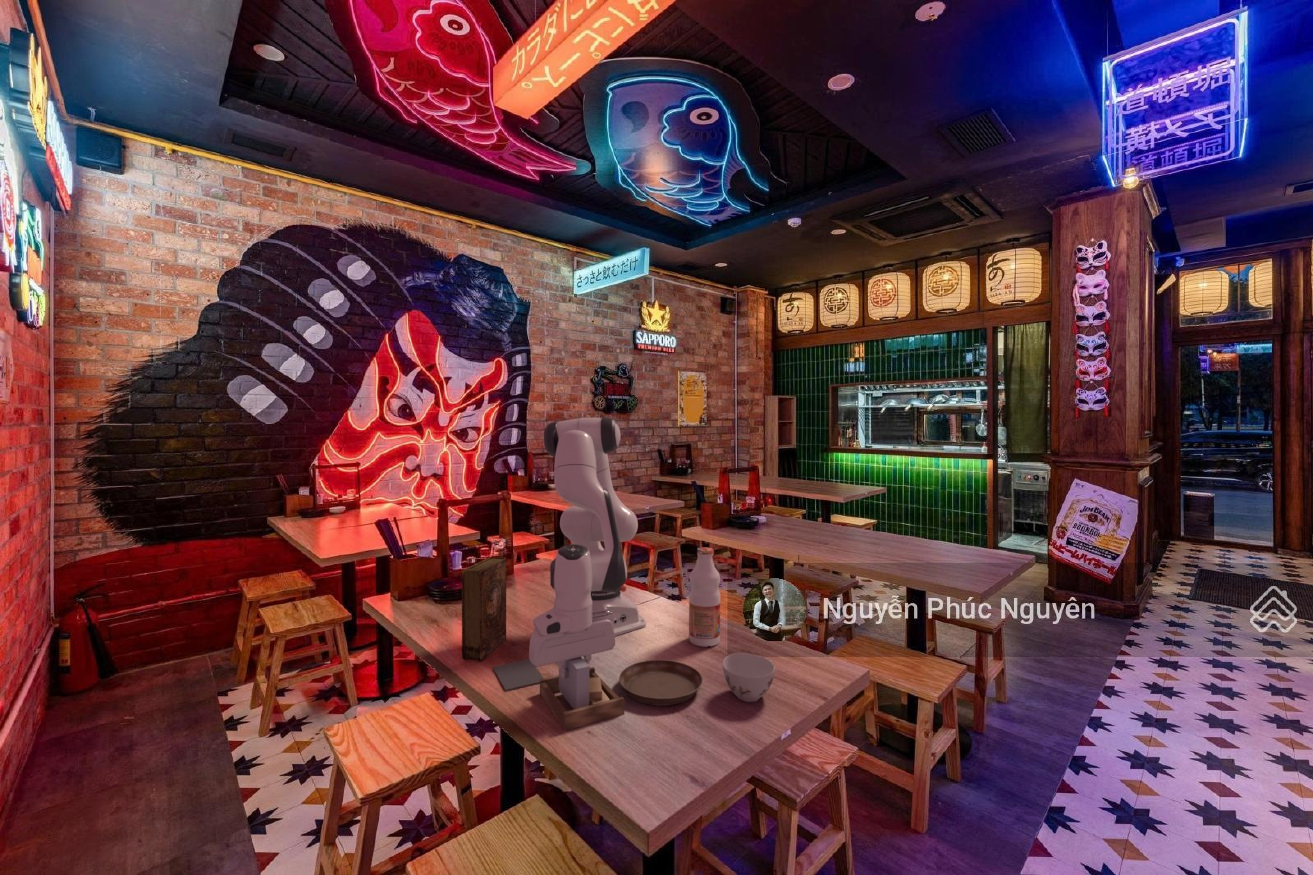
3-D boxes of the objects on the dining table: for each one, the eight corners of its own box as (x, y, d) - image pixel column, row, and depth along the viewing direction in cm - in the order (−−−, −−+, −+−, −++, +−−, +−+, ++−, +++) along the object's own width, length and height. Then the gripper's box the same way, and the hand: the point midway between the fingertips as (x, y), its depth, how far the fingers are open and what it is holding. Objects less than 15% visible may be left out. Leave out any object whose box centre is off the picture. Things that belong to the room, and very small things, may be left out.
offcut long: (595, 691, 134) (595, 681, 133) (610, 710, 124) (610, 700, 124) (580, 694, 132) (580, 684, 132) (593, 714, 123) (593, 704, 123)
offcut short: (600, 685, 131) (600, 677, 131) (601, 699, 125) (602, 691, 124) (583, 686, 131) (583, 678, 131) (584, 701, 124) (584, 692, 124)
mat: (529, 660, 149) (529, 659, 149) (545, 682, 137) (545, 680, 137) (492, 668, 144) (492, 666, 144) (505, 691, 132) (505, 689, 132)
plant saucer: (655, 663, 148) (655, 651, 148) (718, 687, 135) (718, 674, 135) (601, 692, 132) (601, 679, 132) (667, 722, 119) (667, 708, 119)
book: (491, 637, 165) (491, 556, 164) (508, 639, 163) (508, 557, 163) (461, 661, 149) (461, 571, 148) (480, 663, 147) (479, 572, 147)
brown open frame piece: (593, 680, 138) (593, 666, 138) (624, 713, 122) (624, 698, 122) (539, 693, 131) (539, 679, 131) (565, 730, 115) (565, 714, 115)
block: (570, 686, 132) (570, 646, 132) (588, 710, 121) (589, 666, 121) (558, 689, 130) (559, 648, 130) (576, 713, 120) (576, 669, 120)
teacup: (748, 715, 122) (748, 680, 122) (711, 693, 132) (711, 660, 132) (792, 696, 131) (792, 663, 130) (754, 676, 141) (755, 646, 140)
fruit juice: (683, 638, 165) (683, 547, 164) (709, 632, 169) (710, 544, 168) (698, 649, 157) (699, 554, 156) (726, 644, 161) (727, 550, 160)
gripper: (608, 604, 133) (608, 659, 134) (526, 620, 123) (527, 679, 124) (619, 613, 128) (619, 670, 128) (534, 630, 118) (535, 692, 118)
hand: (573, 675), depth 126 cm, fingers closed on block, 3 cm apart
